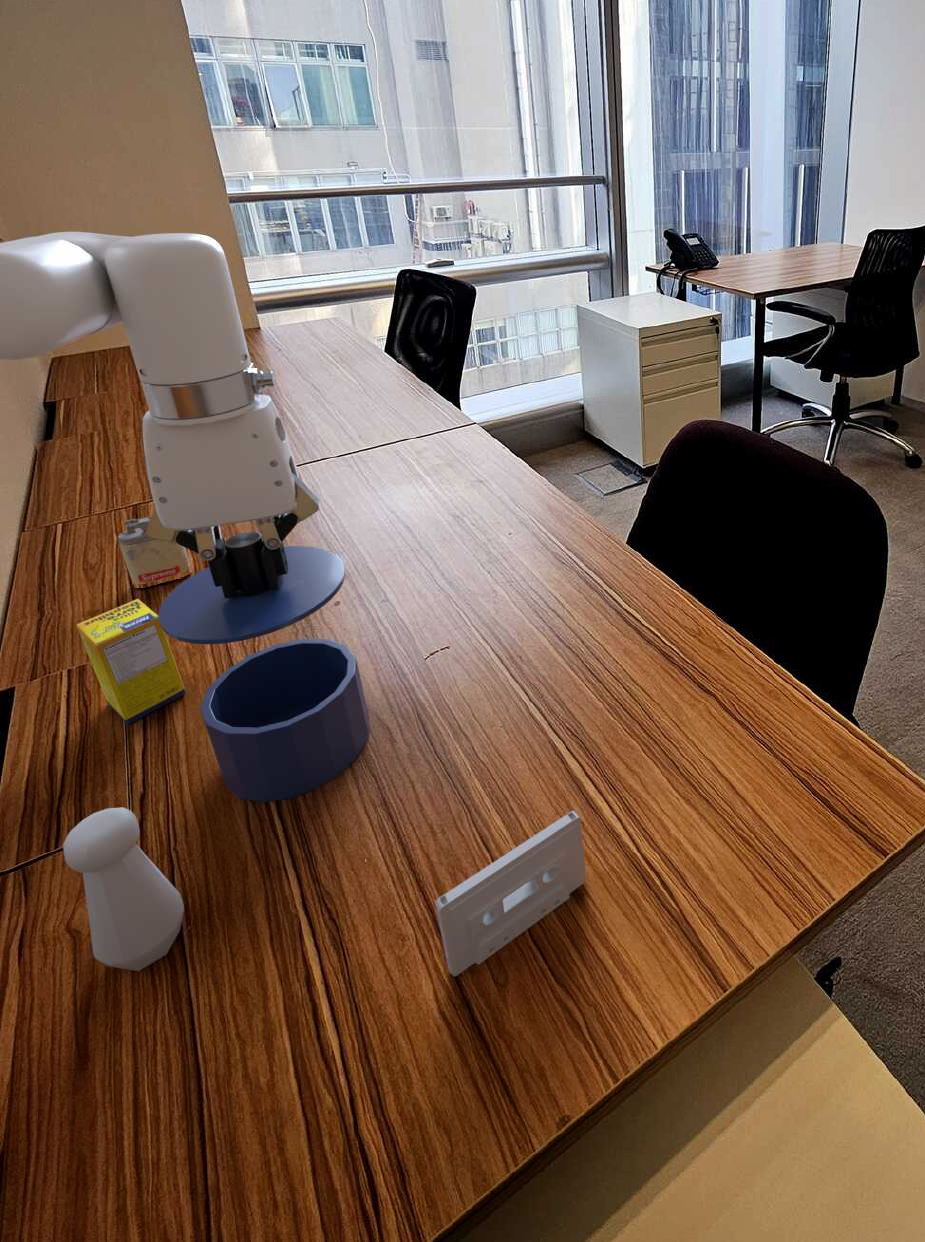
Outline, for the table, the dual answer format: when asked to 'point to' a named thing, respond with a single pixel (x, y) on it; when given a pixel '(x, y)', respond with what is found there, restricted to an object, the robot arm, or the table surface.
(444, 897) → the cassette
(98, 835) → the salt shaker
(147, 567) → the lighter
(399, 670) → the table surface
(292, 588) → the pot lid
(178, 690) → the supplement box
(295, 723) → the pot
